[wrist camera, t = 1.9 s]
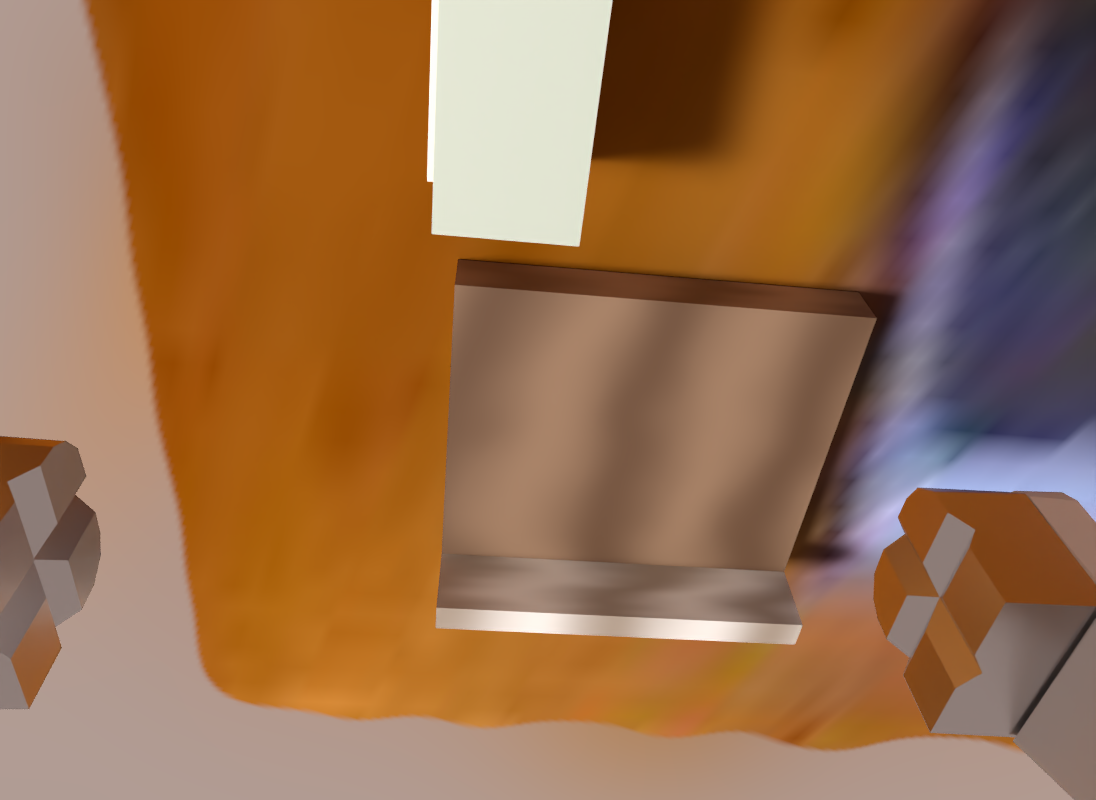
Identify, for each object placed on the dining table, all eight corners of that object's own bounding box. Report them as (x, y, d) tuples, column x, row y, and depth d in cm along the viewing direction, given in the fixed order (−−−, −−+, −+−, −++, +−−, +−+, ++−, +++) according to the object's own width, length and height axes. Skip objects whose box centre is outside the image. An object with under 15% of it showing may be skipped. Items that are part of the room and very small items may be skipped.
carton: (599, -114, 25) (624, -88, 19) (567, 159, 29) (579, 246, 24) (451, -132, 24) (430, -111, 19) (441, 147, 29) (422, 232, 23)
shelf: (858, 292, 32) (908, 363, 28) (764, 564, 41) (792, 650, 36) (458, 259, 31) (449, 328, 27) (443, 547, 39) (435, 634, 35)
